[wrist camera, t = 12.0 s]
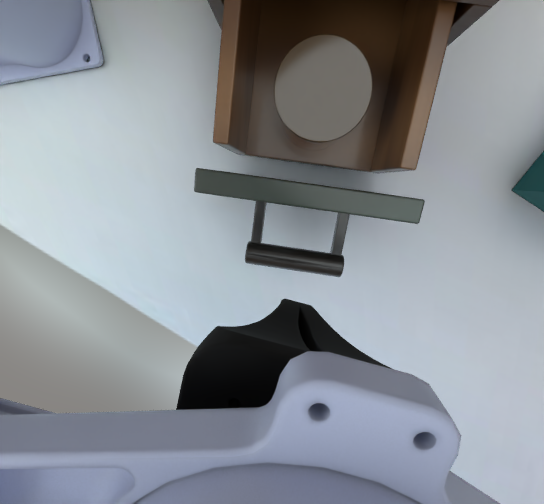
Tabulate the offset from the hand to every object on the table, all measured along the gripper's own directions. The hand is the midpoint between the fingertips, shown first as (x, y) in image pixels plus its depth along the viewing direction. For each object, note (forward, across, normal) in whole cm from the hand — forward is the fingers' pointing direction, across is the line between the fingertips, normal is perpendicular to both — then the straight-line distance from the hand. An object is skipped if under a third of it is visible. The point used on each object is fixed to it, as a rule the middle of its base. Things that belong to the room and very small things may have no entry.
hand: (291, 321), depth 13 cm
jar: (+8, +1, -10) cm, 13 cm away
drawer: (+10, +1, -9) cm, 14 cm away
